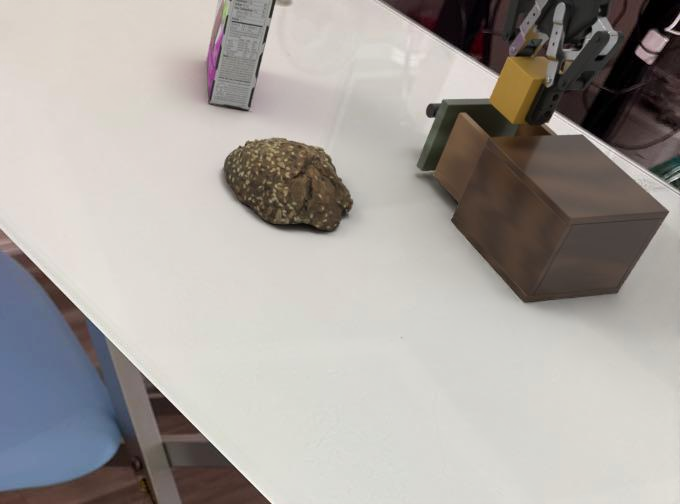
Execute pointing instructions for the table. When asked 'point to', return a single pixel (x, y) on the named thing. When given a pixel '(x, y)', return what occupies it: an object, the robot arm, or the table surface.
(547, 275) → the cabinet
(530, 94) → the block
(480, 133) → the drawer
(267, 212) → the bread roll
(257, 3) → the candy bar box
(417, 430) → the table surface
